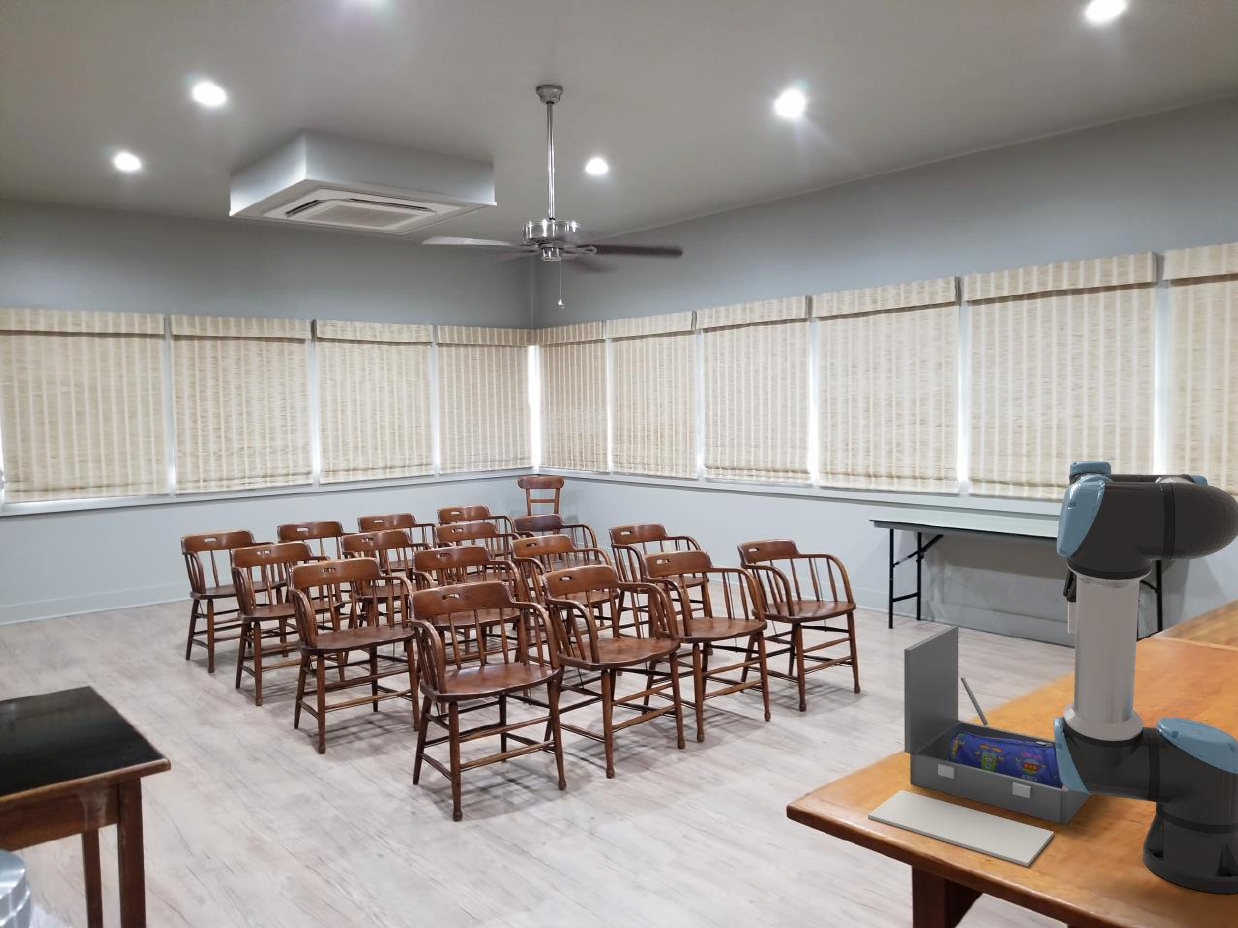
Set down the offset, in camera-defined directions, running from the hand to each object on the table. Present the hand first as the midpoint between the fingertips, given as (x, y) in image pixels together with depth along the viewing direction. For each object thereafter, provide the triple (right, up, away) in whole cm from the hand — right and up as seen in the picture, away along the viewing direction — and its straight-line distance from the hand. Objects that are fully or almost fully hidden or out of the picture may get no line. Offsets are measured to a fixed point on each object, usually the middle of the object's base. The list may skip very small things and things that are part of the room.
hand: (1088, 641), depth 183 cm
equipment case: (-18, -28, -3) cm, 33 cm away
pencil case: (-18, -28, -3) cm, 33 cm away
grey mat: (-35, -29, -22) cm, 50 cm away
